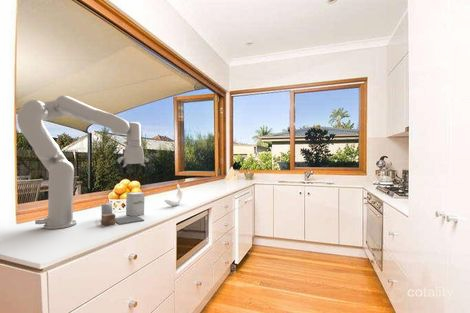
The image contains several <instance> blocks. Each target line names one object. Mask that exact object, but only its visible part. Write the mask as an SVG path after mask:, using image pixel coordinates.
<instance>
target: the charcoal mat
mask: <svg viewBox="0 0 470 313" xmlns="http://www.w3.org/2000/svg"><path fill="white" fill-rule="evenodd" d="M138 221H140V222H145V219H144V218H142V217H140V216H139V215H136V216H129V215H128V216H123V217H115V224H118V225H127V224H132V223H133V222H134V223H138Z"/></svg>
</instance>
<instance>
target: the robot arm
mask: <svg viewBox="0 0 470 313" xmlns="http://www.w3.org/2000/svg"><path fill="white" fill-rule="evenodd" d="M16 116H17V124H18V127H19V129H20V131H21V132H22V135H23V136H24V138H25V139H26V141H27V142H28V143H29V145H30V146H31V148H32V149H33V151H34V153H35V155H36V156H37V158H38V159H39V160H40V162H41V164H42V165H43V166H44V168H45V169H46V170H47V171H48V197H47V199H48V201H47V202H48V208H47V210H48V211H47V216H46V217H44V219H35V221H34V224H35V225H42V224H43V228H44V229H46V230H57V229H63V228H70V227H73V226H75V225H76V224H77V220H75V219H73V218H74V217H73V215H74V214H73V213H74V179H75V167H74V164H73V163H72V162H71V161H68V159H67V158H66V156H65V155H64V153H63V151H62V150H61V148H60V146H59V144H58V143H57V142H56V141H55V140H54V138H53V137H52V135H51V134H50V132H49V131H48V129H47V127H46V126H45V124H44V122H45V121H49V120H54V119H59V118H63V117H66V116H68V117H72V118H75V119H76V120H79V121H82V122H84V123H87V124H89V125H98V126H102V127H106V128H108V129H109V130H110V132H111V133H112V134H114V135H117V136H121V135H126V140H125V141H123V145H126V146H125V148H124V152H123V156H120V157H119V158H118V159H117V162H118V164H119V165H120V166H121V168H122V174H123V175H127V166H128V165H130V164H131V165H133V164H135V165H136V164H140V166H141V167H140V174H145V172H146V169H145V168H146V166H147V165H148V163H149V161H150V159H149V158H148V157H146V156H145V154H144V148H143V146H142V140H141V138H142V137H141V136H142V134H141V131H142V130H141V129H142V128H141V127H142V126H141V124H140V123H139V122H137V121H129V122H128V121H127V120H126V119H124V118H122V117H120V116H118V115H116V114H113V113H110V112H108V111H104V110H101V109H99V108H95V107H93V106H91V105H88V104H86V103H85V102H82V101H79V100H78V99H75V98H74V97H71V96H68V95H59V96H58V97H57V98H55V100H51V101H46V102H43V101H41V100H39V99H30V100H28V101H26V102H24V104H23V105H21V106H20V108H19V110H18V113H17V115H16ZM122 160H123V162H122Z"/></svg>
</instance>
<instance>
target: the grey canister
mask: <svg viewBox="0 0 470 313" xmlns="http://www.w3.org/2000/svg"><path fill="white" fill-rule="evenodd" d="M108 213H113V202H107V203H106V202H105V203H102V204H101V215H102V214H108Z"/></svg>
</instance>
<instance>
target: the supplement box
mask: <svg viewBox="0 0 470 313" xmlns="http://www.w3.org/2000/svg"><path fill="white" fill-rule="evenodd" d="M145 196H146V195H145V192H141V191H140V192H139V191H138V192H128V193H126V203H125V204H126V207H125V208H126V211H125V215H127V216H128V217H129V216H136V215H137V216H142V215H145Z"/></svg>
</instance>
